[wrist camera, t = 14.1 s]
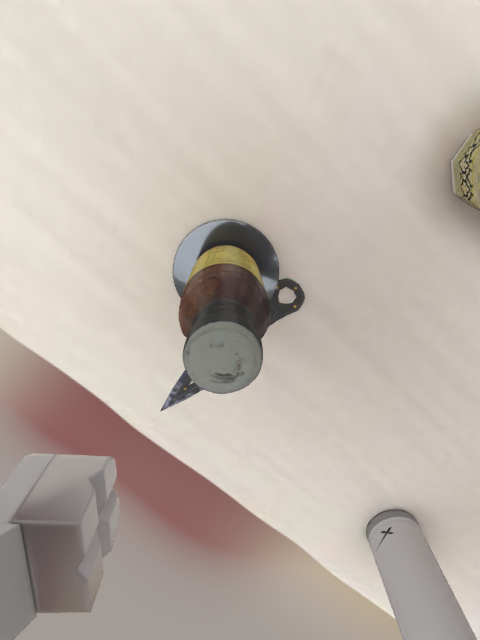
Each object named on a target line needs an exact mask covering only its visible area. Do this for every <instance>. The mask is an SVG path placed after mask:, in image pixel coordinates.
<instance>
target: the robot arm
mask: <svg viewBox="0 0 480 640" xmlns="http://www.w3.org/2000/svg"><path fill="white" fill-rule="evenodd" d="M116 476H117V472H116V463H115V460H114V459H113V457H106V456H105V457H104V456H85V455H63V454H58V455H55V454H29V455H27V456H25V457H24V458H23V459H22V460H21V461H20V463H19V464H18V465H17V467H16V468H15V469H14V471H13V472H12V473H11V475H10V476H9V477H8V479H7V480H6V481H5V483H4V484H3V485H2V487H1V488H0V640H14V639H15V638H16V637H17V636H18V635H19V634H20V633H21V631H23V630H24V628H26V626H27V625H28V624H29V623H30V622H31V621H32V620H33V619H34V618H35V617H36V613H59V612H60V613H61V612H91V609H92V606H93V603H94V600H95V597H96V594H97V591H98V588H99V585H100V582H101V580H102V576H103V564H102V558H103V557H104V556H106V555H107V554H108V553H109V552H110V551H111V549H112V546H113V543H114V540H115V536H116V531H117V525H118V518H119V496H118V494H117V493H116V492H115V491H114V490H113V489H112V487H113V484H114V482H115V479H116Z"/></svg>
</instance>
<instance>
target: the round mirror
mask: <svg viewBox="0 0 480 640" xmlns="http://www.w3.org/2000/svg"><path fill="white" fill-rule="evenodd" d="M216 246H234V247H237V248H240V249H242V250H244V251H245V252H246V253H248V254H249V255H250V256H251V257H252V258H253V259H254V261H255V262H256V264H257V266H258V269H259V272H260V275H261V278H262V280H263V284H264V286H265V289H266V292H267V295H268V298H269V301H270V300H271V298H272V297H273V295H274V293H275V290H276V287H277V284H278V279H279V265H278V260H277V256H276V254H275V251H274V249H273V247H272V245H271V244H270V242H269V241H268V239H267V238H266V237H265V236H264V235H263V234H262V233H261V232H260V231H258V230H257V229H256V228H254V227H253V226H251V225H249V224H247V223H244V222H241V221H237V220H231V219H220V220H214V221H210V222H207V223H205V224H203V225H200V226H199V227H197V228H196V229H194V230H193V231H192V232H190V233H189V234H188V235H187V236H186V238H185V239H184V240H183V242H182V243H181V244H180V246H179V248H178V250H177V252H176V255H175V259H174V264H173V278H174V283H175V287H176V289H177V292H178V294H179V296H180V298H182V294H183V291H184V288H185V286H186V283H187V281H188V279H189V276H190V274H191V272H192V269H193V267H194V266H195V264H196V261H197V260H198V259H199V257H200V256H201V255H203V254H204V253H205V252H206V251H208V250H210V249H212V248H213V247H216Z"/></svg>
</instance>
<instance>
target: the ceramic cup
mask: <svg viewBox="0 0 480 640" xmlns="http://www.w3.org/2000/svg"><path fill="white" fill-rule="evenodd" d="M451 175H452V187H453V193H454V194H455V195H457V196H458V197H460V198H461V199H462V200H464V201H465V202H467V203H468V204H470V205H471V206H473V207H474V208H476V209H478V210H480V129H478V130H476V131H474V132H472V133H471V134H470V135H469V136H468V138H467V139H466V141H465V142H464V143H463V145H462V146H461V148H460V149H459V150H458V152H457V153H456V155H455V156H454V157H453V159H452V160H451Z"/></svg>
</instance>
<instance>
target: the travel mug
mask: <svg viewBox="0 0 480 640" xmlns="http://www.w3.org/2000/svg"><path fill="white" fill-rule="evenodd" d="M366 534H367V539H368V542H369V544H370V547H371V550H372V553H373V556H374V559H375V561H376V564H377V567H378V570H379V573H380V575H381V578H382V581H383V584H384V587H385V590H386V592H387V595H388V598H389V601H390V604H391V607H392V609H393V612H394V615H395V618H396V621H397V624H398V626H399V629H400V632H401V635H402V638H403V640H477V639H476V637H475V635H474V633H473V631H472V629H471V627H470V625H469V623H468V621H467V619H466V617H465V615H464V613H463V611H462V609H461V607H460V605H459V603H458V601H457V599H456V597H455V596H454V594H453V592H452V590H451V588H450V586H449V584H448V582H447V580H446V578H445V576H444V574H443V572H442V570H441V568H440V566H439V564H438V562H437V560H436V558H435V556H434V554H433V552H432V550H431V548H430V546H429V545H428V543H427V541H426V539H425V537H424V535H423V533H422V531H421V529H420V527H419V525H418V523H417V521H416V519H415V518H414V517H413V516H412V515H410V514H409V513H406V512H404V511H398V510H393V511H387V512H383V513H381V514H379V515H377V516H376V517H375V518H374V519H372V521H371V522H370V523H369V525H368V527H367V531H366Z"/></svg>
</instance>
